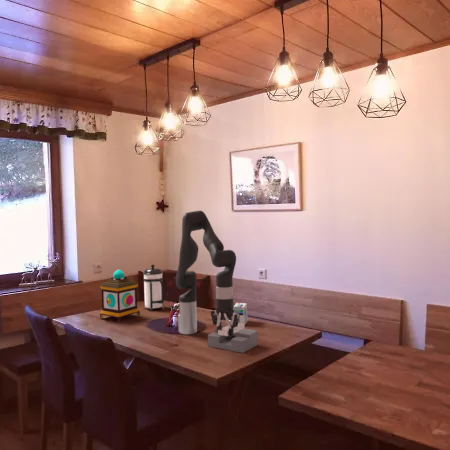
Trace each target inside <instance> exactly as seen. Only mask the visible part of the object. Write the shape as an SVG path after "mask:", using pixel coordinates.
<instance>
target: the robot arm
mask: <svg viewBox="0 0 450 450" xmlns="http://www.w3.org/2000/svg"><path fill="white" fill-rule="evenodd" d="M181 221H182V224H181V243H180V248H179V249H180V250H179V260H178V266H177V270H176V276H175V285H176V288H178V289H179V290H186V289H188V290H187V291H185V292H184V293H183V294H180V295H179V297H178V302H179V303H178V305H179V314H178V315H177V321H178V322H177V323H178V325H177V326H178V330H177V331H178V333H180V334H182V335H194V334H196V333H197V332H198V320H197V318H198V317H197V316H198V315H197V274H196V272H195V271H194V270H191V271H190V270H188V269H190V267H192V266H193V265H194V264H195V263H196V262H197V260H198V256H199V246H198V243H197V242H196V241H195V240H194V239H193V237H192V232H194V231H200V230H203V231H204V232H203V237H202V243H203V245H204V247H205V248H206V250H207V251H208V253H209V256H210V259H211V264H212V265H213V266H214V267H215V268H223V267H224V269H223V270H222V271H220V272H218V273H216V275H215V280H216V281H215V282H216V283H215V284H216V286H215V307H216V309H214V310H211V311H210V316H211V320H212V325H214V326H216V328H217V333H218V330H219V329H221V328H222V326H223V325H222V324H223V322H224V321H225V322H226V324H227V326H229V337H232V336H233V335H234V328H235V327H237V326H238V322H239V317H240V314H239V313H238V314H237V313H234V311H233V307H234V305H235V304H234V287H233V284H234V283H233V281H234V280H233V278H234V277H233V276H234V271H235V268H236V263H237V255H236V253H235V251H233V250H232V249H226V250H225V247H224V244H223V242H222V241H221V240H220V239H219V237H218V235H217V234H216V233H215V231H214V228H213V227H212V223H211V222H210V221H209V218H208V217H207V215H206V213H205V212H204V211H203V210H196V211H195V210H194V211H189V212H185V213H184V214H183V216H182V220H181Z"/></svg>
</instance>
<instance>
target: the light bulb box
mask: <svg viewBox="0 0 450 450" xmlns="http://www.w3.org/2000/svg"><path fill="white" fill-rule="evenodd" d="M233 311H234V313H237V314H238V313H239V314H240V317H239V322H238V323H243V324H244V325H246V324H247V323H248V303H245V302H236V303H235V304H234V307H233Z"/></svg>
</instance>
